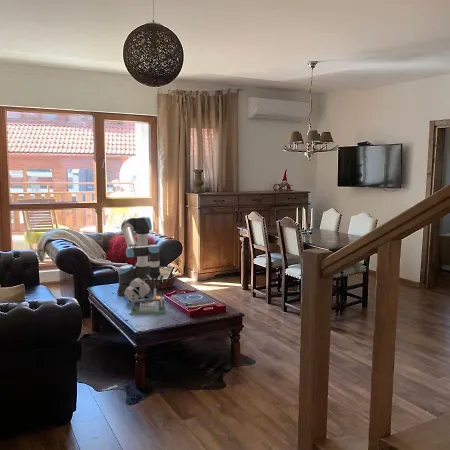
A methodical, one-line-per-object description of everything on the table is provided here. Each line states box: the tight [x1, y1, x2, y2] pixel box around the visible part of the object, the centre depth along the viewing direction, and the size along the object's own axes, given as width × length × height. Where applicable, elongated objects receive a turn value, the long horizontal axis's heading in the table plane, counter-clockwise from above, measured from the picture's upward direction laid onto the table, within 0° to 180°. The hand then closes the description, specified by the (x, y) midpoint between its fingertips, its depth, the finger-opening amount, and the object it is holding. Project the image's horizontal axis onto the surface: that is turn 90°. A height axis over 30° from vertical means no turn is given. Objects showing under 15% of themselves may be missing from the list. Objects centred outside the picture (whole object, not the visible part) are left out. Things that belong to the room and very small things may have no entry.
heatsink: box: [139, 301, 155, 312], centre depth 341 cm, size 12×10×6 cm
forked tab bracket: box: [130, 298, 136, 311], centre depth 340 cm, size 7×2×8 cm, turn 7°
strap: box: [133, 295, 162, 304], centre depth 340 cm, size 6×21×2 cm, turn 97°
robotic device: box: [124, 278, 152, 305], centre depth 358 cm, size 10×21×20 cm
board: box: [129, 304, 166, 315], centre depth 342 cm, size 16×25×1 cm, turn 97°
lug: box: [158, 296, 165, 310], centre depth 342 cm, size 6×4×8 cm
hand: (155, 297), depth 341 cm, fingers closed
